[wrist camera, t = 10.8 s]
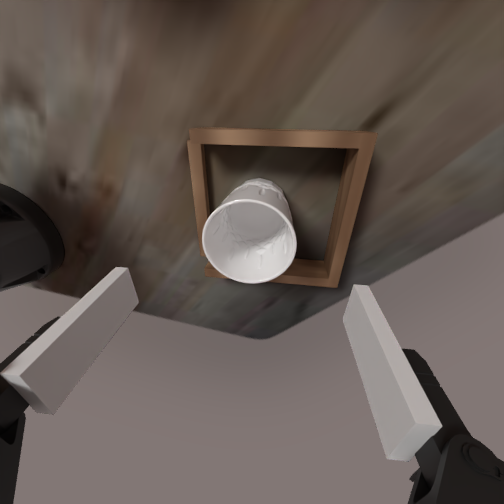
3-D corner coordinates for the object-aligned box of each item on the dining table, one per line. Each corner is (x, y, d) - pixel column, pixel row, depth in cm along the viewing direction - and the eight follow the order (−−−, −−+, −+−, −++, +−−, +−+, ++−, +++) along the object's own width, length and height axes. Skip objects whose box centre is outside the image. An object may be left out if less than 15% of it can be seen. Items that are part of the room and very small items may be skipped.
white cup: (272, 245, 30) (268, 296, 21) (217, 218, 29) (190, 261, 20) (305, 192, 26) (316, 228, 17) (242, 159, 25) (221, 180, 16)
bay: (204, 258, 32) (194, 275, 29) (189, 127, 24) (174, 128, 20) (331, 268, 30) (337, 287, 27) (363, 130, 22) (378, 133, 19)
